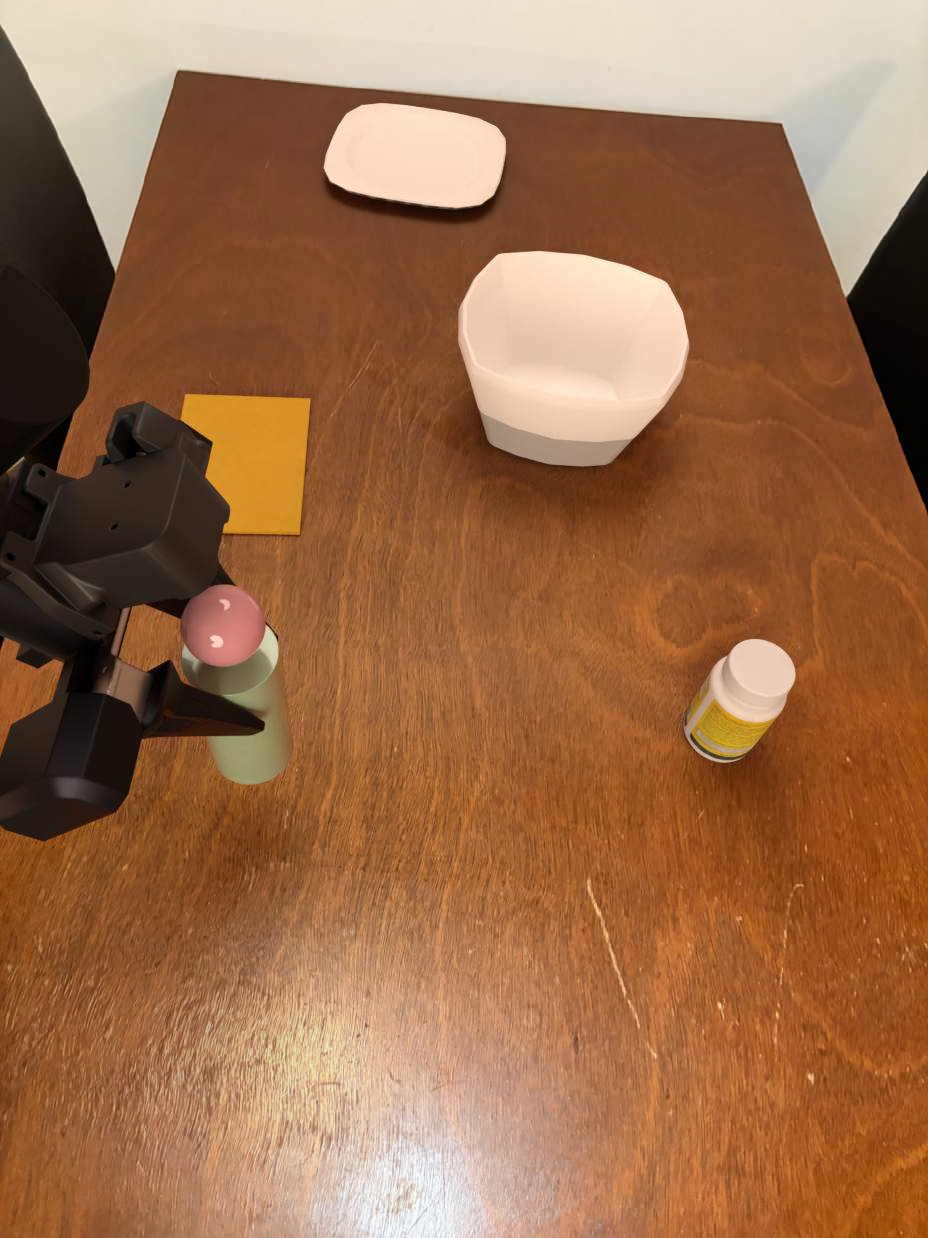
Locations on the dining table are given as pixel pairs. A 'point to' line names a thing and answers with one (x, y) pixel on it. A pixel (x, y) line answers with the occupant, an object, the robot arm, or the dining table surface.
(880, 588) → the dining table surface
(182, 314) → the dining table surface
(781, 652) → the supplement bottle
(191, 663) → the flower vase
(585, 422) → the bowl
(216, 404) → the cloth
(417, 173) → the plate
